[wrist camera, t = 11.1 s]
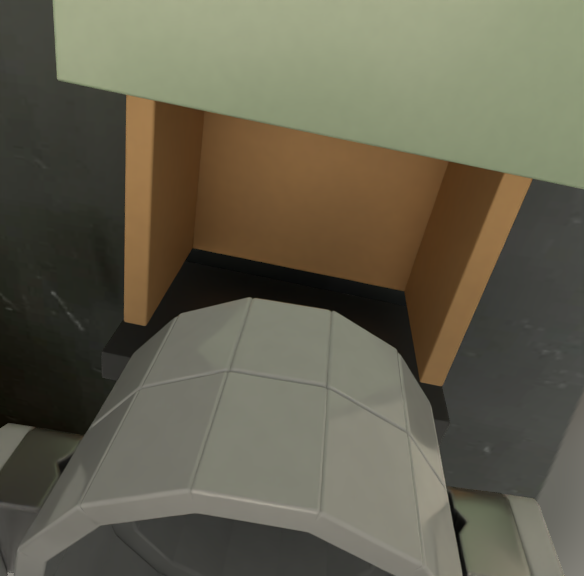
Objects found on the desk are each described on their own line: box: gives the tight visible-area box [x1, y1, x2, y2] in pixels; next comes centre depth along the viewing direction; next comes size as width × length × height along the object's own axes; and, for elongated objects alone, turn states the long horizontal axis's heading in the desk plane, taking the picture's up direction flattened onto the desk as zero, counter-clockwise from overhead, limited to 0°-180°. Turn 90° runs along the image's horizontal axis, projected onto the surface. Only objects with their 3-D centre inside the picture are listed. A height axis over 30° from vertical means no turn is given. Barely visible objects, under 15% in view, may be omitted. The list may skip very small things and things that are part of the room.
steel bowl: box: [14, 297, 463, 576], centre depth 9 cm, size 6×6×4 cm
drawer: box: [102, 95, 532, 445], centre depth 19 cm, size 19×12×7 cm, turn 170°
